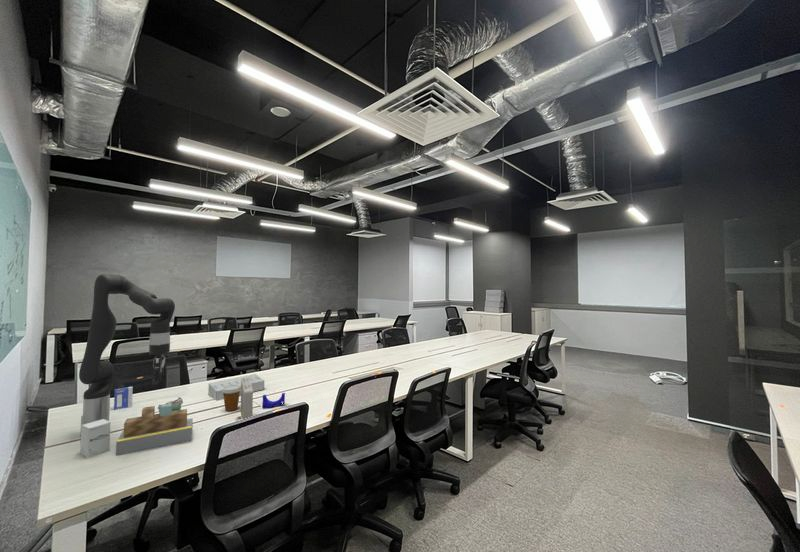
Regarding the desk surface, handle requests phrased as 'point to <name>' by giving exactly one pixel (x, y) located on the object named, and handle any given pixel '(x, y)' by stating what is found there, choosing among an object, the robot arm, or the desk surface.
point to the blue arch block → (271, 403)
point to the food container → (174, 404)
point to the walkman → (123, 398)
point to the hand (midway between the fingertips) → (158, 378)
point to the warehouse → (217, 387)
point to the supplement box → (95, 438)
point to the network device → (246, 399)
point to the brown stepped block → (155, 423)
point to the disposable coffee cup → (231, 397)
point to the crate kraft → (148, 412)
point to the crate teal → (165, 409)
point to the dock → (154, 439)
